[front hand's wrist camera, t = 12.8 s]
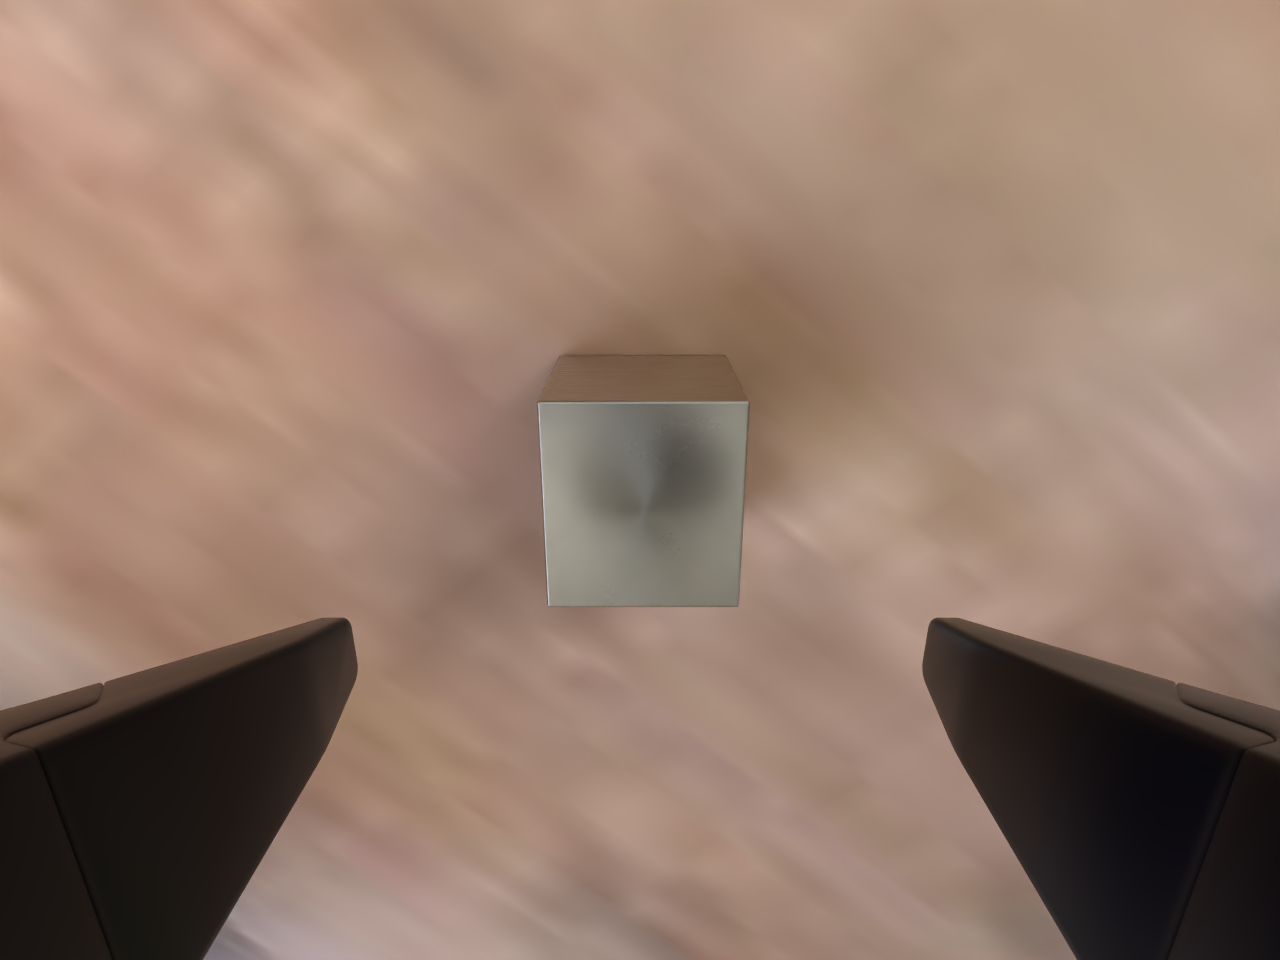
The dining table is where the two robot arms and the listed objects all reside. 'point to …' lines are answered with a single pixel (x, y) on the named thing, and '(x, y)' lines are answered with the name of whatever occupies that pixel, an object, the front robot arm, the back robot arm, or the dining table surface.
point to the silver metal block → (643, 480)
